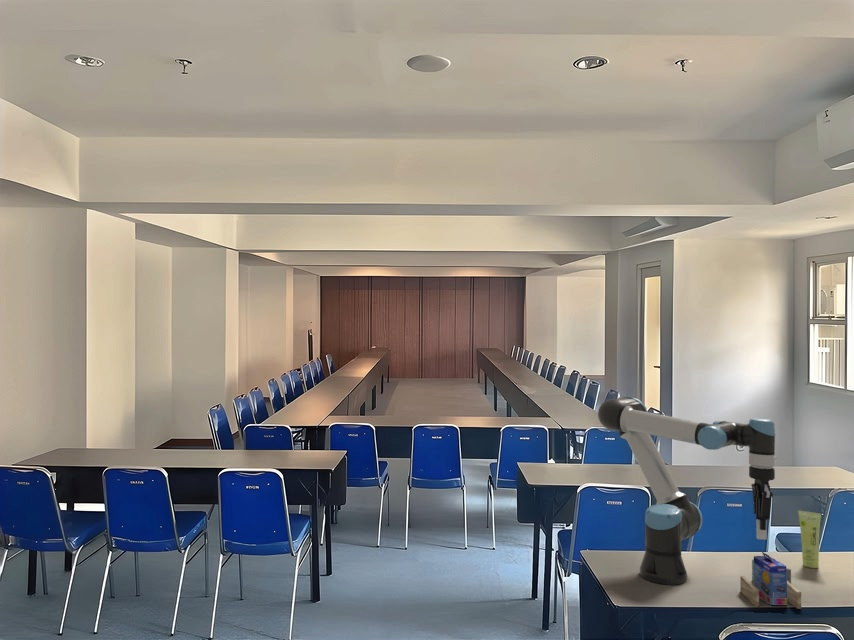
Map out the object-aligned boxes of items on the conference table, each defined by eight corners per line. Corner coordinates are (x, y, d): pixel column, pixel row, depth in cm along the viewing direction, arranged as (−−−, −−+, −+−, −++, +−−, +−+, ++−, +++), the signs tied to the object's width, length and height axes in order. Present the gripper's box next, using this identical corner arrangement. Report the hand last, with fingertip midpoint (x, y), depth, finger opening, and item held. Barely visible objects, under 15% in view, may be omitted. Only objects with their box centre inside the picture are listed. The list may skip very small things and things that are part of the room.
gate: (792, 593, 211) (792, 569, 212) (789, 593, 211) (789, 570, 211) (754, 579, 223) (754, 557, 223) (751, 580, 222) (751, 558, 223)
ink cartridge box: (752, 594, 210) (752, 548, 211) (769, 593, 211) (769, 548, 211) (770, 606, 201) (770, 558, 201) (788, 606, 201) (788, 558, 201)
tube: (805, 568, 235) (805, 513, 236) (798, 563, 240) (797, 509, 241) (821, 568, 235) (821, 513, 235) (813, 564, 240) (813, 510, 240)
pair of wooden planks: (754, 606, 200) (754, 589, 201) (740, 591, 212) (740, 575, 213) (801, 608, 199) (801, 592, 199) (784, 593, 211) (784, 577, 211)
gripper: (781, 470, 209) (781, 545, 208) (767, 463, 222) (766, 533, 221) (756, 469, 210) (755, 544, 209) (743, 462, 223) (743, 532, 222)
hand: (761, 538), depth 215 cm, fingers closed
